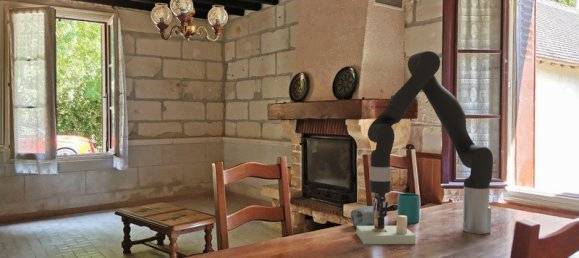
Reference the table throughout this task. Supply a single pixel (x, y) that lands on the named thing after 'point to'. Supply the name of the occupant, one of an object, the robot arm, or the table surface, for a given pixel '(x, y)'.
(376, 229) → the peg
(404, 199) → the cup
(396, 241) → the seat board
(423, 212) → the table surface
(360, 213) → the spool
